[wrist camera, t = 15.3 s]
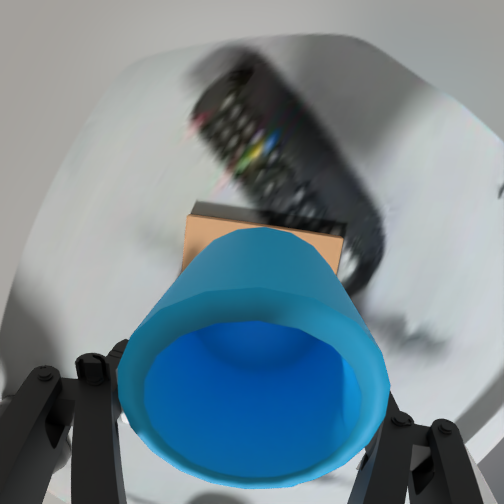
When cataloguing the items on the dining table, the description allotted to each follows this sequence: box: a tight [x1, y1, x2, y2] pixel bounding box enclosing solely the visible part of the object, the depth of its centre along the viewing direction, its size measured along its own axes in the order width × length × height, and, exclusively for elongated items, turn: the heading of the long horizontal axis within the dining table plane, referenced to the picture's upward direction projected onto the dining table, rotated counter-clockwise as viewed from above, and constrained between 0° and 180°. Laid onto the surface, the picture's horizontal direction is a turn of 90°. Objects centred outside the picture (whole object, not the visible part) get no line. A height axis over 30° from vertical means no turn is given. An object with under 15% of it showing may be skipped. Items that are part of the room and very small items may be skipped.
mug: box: [118, 227, 391, 489], centre depth 13 cm, size 12×8×8 cm
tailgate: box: [182, 214, 343, 275], centre depth 28 cm, size 13×1×8 cm
